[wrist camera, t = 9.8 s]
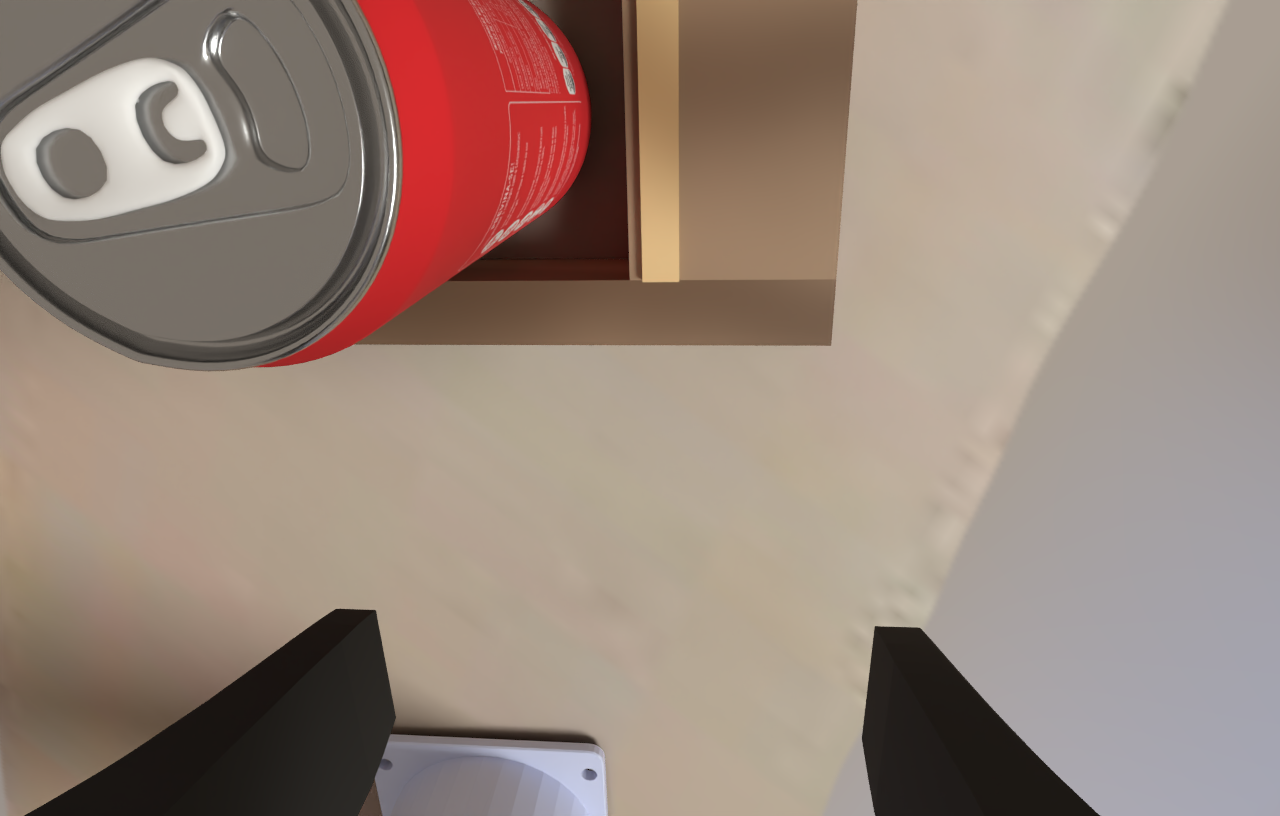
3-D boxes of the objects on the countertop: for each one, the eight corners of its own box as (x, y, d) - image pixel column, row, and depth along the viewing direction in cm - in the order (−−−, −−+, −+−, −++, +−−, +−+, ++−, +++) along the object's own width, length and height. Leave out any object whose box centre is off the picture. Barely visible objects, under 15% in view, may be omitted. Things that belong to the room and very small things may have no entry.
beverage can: (626, 187, 18) (508, 316, 7) (436, 249, 19) (77, 447, 8) (553, -46, 17) (253, -334, 6) (348, 36, 18) (-254, -74, 7)
